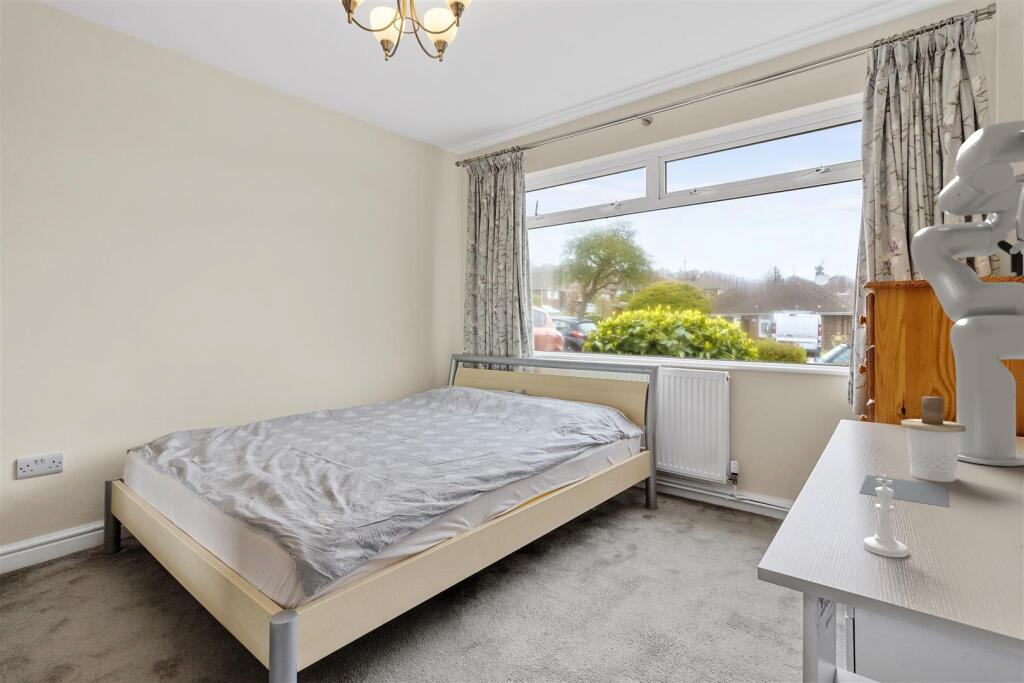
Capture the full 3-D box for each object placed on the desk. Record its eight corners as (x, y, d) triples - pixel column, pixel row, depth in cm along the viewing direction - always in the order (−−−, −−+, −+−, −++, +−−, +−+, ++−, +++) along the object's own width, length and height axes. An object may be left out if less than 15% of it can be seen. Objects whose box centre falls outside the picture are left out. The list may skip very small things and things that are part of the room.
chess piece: (864, 538, 71) (863, 468, 71) (908, 547, 68) (908, 473, 68) (860, 551, 67) (860, 476, 67) (908, 561, 64) (907, 482, 64)
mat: (866, 476, 100) (866, 474, 100) (946, 487, 92) (946, 485, 92) (859, 495, 89) (859, 493, 89) (949, 509, 81) (949, 507, 81)
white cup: (898, 476, 100) (897, 426, 100) (920, 471, 103) (920, 422, 103) (946, 487, 93) (945, 432, 93) (968, 480, 96) (968, 428, 96)
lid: (902, 421, 105) (901, 393, 104) (964, 426, 98) (964, 396, 98) (900, 428, 97) (899, 398, 97) (967, 434, 91) (966, 402, 91)
